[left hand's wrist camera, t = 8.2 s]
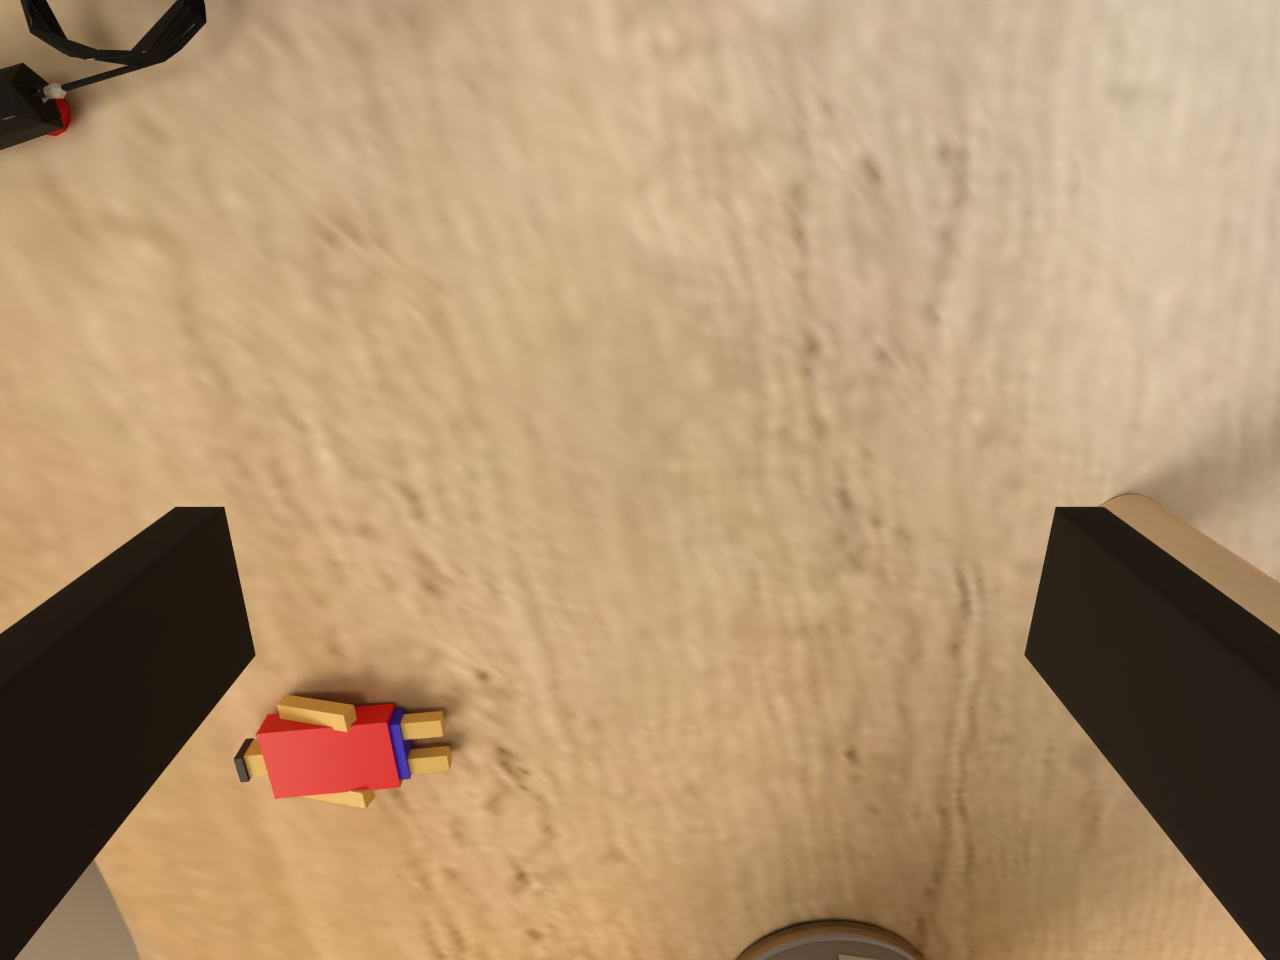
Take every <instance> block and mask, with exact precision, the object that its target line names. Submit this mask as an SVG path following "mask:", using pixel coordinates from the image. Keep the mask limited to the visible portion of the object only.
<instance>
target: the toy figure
mask: <svg viewBox="0 0 1280 960" xmlns="http://www.w3.org/2000/svg"><path fill="white" fill-rule="evenodd" d="M277 708H278V712H279V714H268V715H267V717H266V719H265V720H264V722H263V724H262V725H261V727H260V729H259V730H258V732H257V738H258V740H254V738H251V739H246V740H245V741H244V743H243V745H242V746H241V748H240V750H239V751H238V753H237V755H236V756H235V758H234V762H235V765H236V768H237V772H238V775H239V778H240V781H241V782H249V780H250V778H251V777H258V776H269V779H270V783H271V786H272V789H273V793H274V796H275V799H277V798H288V797H299V796H304V797H309V798H314V799H319V800H325V801H330V802H335V803H340V804H345V805H350V806H355V807H360V808H365V809H366V808H367V806H368V805H369V804H370V803H371V801H372V800H373V799H374V798H375V795H374V791H373V790H376V789H387V788H398V787H401V784H402V780H403V779H410V777H411V774H417V773H428V772H439V771H449V770H450V766H451V761H452V759H451V754H450V748H449V746H443V747H432V748H421V749H412V746H411V741H410V739H420V738H431V737H442V736H443V735H444V731H445V727H446V726H445V721H444V715H443V711H437V712H425V713H414V714H405V711H404V709H400V710H395V709H394V704H383V705H372V706H360V707H354V705H350V704H344V703H338V702H331V701H325V700H318V699H312V698H305V697H299V696H292V695H287V696H286V697H285V698H284V699H282V700H281V701H280V702H279V703H278V704H277Z"/></svg>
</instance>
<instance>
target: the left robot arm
mask: <svg viewBox="0 0 1280 960" xmlns="http://www.w3.org/2000/svg"><path fill="white" fill-rule="evenodd" d="M254 656H255V650H254V646H253V641H252V636H251V631H250V627H249V622H248V617H247V612H246V608H245V603H244V598H243V593H242V589H241V584H240V579H239V574H238V570H237V565H236V560H235V556H234V551H233V546H232V541H231V537H230V532H229V527H228V522H227V518H226V513H225V508H224V507H175V508H174V509H172V510H171V511H169V512H168V513H167V514H165V515H164V516H162V517H161V518H160V519H158V520H157V521H156V522H154V523H153V524H151V525H150V526H149V527H147V528H146V529H145V530H143V531H142V532H140V533H139V534H138V535H136V536H135V537H134V538H132V539H131V540H129V541H128V542H127V543H125V544H124V545H122V546H121V547H120V548H118V549H117V550H116V551H114V552H113V553H111V554H110V555H109V556H107V557H106V558H105V559H103V560H102V561H100V562H99V563H98V564H96V565H95V566H94V567H92V568H91V569H89V570H88V571H87V572H85V573H84V574H82V575H81V576H80V577H78V578H77V579H76V580H74V581H73V582H71V583H70V584H69V585H67V586H66V587H65V588H63V589H62V590H60V591H59V592H58V593H56V594H55V595H53V596H52V597H51V598H49V599H48V600H47V601H45V602H44V603H42V604H41V605H40V606H38V607H37V608H36V609H34V610H33V611H31V612H30V613H29V614H27V615H26V616H25V617H23V618H22V619H20V620H19V621H18V622H16V623H15V624H13V625H12V626H11V627H9V628H8V629H7V630H5V631H4V632H2V633H1V634H0V960H14V959H15V958H16V957H17V955H18V954H19V953H20V951H21V950H22V949H23V948H24V946H25V945H26V944H27V943H28V941H29V940H30V939H31V938H32V936H33V935H34V934H35V933H36V931H37V930H38V929H39V928H40V926H41V925H42V924H43V923H44V921H45V920H46V919H47V917H48V916H49V915H50V914H51V912H52V911H53V910H54V909H55V907H56V906H57V905H58V904H59V902H60V901H61V900H62V899H63V897H64V896H65V895H66V893H67V892H68V891H69V890H70V888H71V887H72V886H73V885H74V883H75V882H76V881H77V880H78V878H79V877H80V876H81V875H82V873H83V872H84V871H85V869H86V868H87V867H88V866H89V864H90V863H91V862H92V861H93V859H94V858H95V857H96V856H97V854H98V853H99V852H100V851H101V849H102V848H103V847H104V846H105V844H106V843H107V842H108V841H109V839H110V838H111V837H112V836H113V834H114V833H115V832H116V830H117V829H118V828H119V827H120V825H121V824H122V823H123V822H124V820H125V819H126V818H127V817H128V815H129V814H130V813H131V812H132V810H133V809H134V808H135V807H136V805H137V804H138V803H139V801H140V800H141V799H142V798H143V796H144V795H145V794H146V793H147V791H148V790H149V789H150V788H151V786H152V785H153V784H154V783H155V781H156V780H157V779H158V778H159V776H160V775H161V774H162V772H163V771H164V770H165V769H166V767H167V766H168V765H169V764H170V762H171V761H172V760H173V759H174V757H175V756H176V755H177V754H178V752H179V751H180V750H181V749H182V747H183V746H184V745H185V743H186V742H187V741H188V740H189V738H190V737H191V736H192V735H193V733H194V732H195V731H196V730H197V728H198V727H199V726H200V725H201V723H202V722H203V721H204V720H205V718H206V717H207V716H208V714H209V713H210V712H211V711H212V709H213V708H214V707H215V706H216V704H217V703H218V702H219V701H220V699H221V698H222V697H223V696H224V694H225V693H226V692H227V691H228V689H229V688H230V687H231V685H232V684H233V683H234V682H235V680H236V679H237V678H238V677H239V675H240V674H241V673H242V672H243V670H244V669H245V668H246V667H247V665H248V664H249V663H250V662H251V660H252V659H253V658H254ZM1025 656H1026V658H1027V659H1028V660H1029V662H1030V663H1031V664H1032V665H1033V667H1034V668H1035V669H1036V670H1037V672H1038V673H1039V674H1040V675H1041V677H1042V678H1043V679H1044V680H1045V682H1046V683H1047V684H1048V685H1049V687H1050V688H1051V689H1052V691H1053V692H1054V693H1055V694H1056V696H1057V697H1058V698H1059V699H1060V701H1061V702H1062V703H1063V704H1064V706H1065V707H1066V708H1067V709H1068V711H1069V712H1070V713H1071V714H1072V716H1073V717H1074V718H1075V720H1076V721H1077V722H1078V723H1079V725H1080V726H1081V727H1082V728H1083V730H1084V731H1085V732H1086V733H1087V735H1088V736H1089V737H1090V738H1091V740H1092V741H1093V742H1094V743H1095V745H1096V746H1097V747H1098V749H1099V750H1100V751H1101V752H1102V754H1103V755H1104V756H1105V757H1106V759H1107V760H1108V761H1109V762H1110V764H1111V765H1112V766H1113V767H1114V769H1115V770H1116V771H1117V772H1118V774H1119V775H1120V776H1121V778H1122V779H1123V780H1124V781H1125V783H1126V784H1127V785H1128V786H1129V788H1130V789H1131V790H1132V791H1133V793H1134V794H1135V795H1136V796H1137V798H1138V799H1139V800H1140V801H1141V803H1142V804H1143V805H1144V807H1145V808H1146V809H1147V810H1148V812H1149V813H1150V814H1151V815H1152V817H1153V818H1154V819H1155V820H1156V822H1157V823H1158V824H1159V825H1160V827H1161V828H1162V829H1163V830H1164V832H1165V833H1166V834H1167V836H1168V837H1169V838H1170V839H1171V841H1172V842H1173V843H1174V844H1175V846H1176V847H1177V848H1178V849H1179V851H1180V852H1181V853H1182V854H1183V856H1184V857H1185V858H1186V859H1187V861H1188V862H1189V863H1190V865H1191V866H1192V867H1193V868H1194V870H1195V871H1196V872H1197V873H1198V875H1199V876H1200V877H1201V878H1202V880H1203V881H1204V882H1205V883H1206V885H1207V886H1208V887H1209V888H1210V890H1211V891H1212V892H1213V894H1214V895H1215V896H1216V897H1217V899H1218V900H1219V901H1220V902H1221V904H1222V905H1223V906H1224V907H1225V909H1226V910H1227V911H1228V912H1229V914H1230V915H1231V916H1232V917H1233V919H1234V920H1235V921H1236V923H1237V924H1238V925H1239V926H1240V928H1241V929H1242V930H1243V931H1244V933H1245V934H1246V935H1247V936H1248V938H1249V939H1250V940H1251V941H1252V943H1253V944H1254V945H1255V946H1256V948H1257V949H1258V950H1259V952H1260V953H1261V954H1262V955H1263V957H1264V958H1265V959H1266V960H1280V634H1279V633H1278V632H1276V631H1275V630H1273V629H1272V628H1271V627H1269V626H1268V625H1267V624H1265V623H1264V622H1262V621H1261V620H1260V619H1258V618H1257V617H1255V616H1254V615H1253V614H1251V613H1250V612H1249V611H1247V610H1246V609H1244V608H1243V607H1242V606H1240V605H1239V604H1238V603H1236V602H1235V601H1233V600H1232V599H1231V598H1229V597H1228V596H1227V595H1225V594H1224V593H1222V592H1221V591H1220V590H1218V589H1217V588H1215V587H1214V586H1213V585H1211V584H1210V583H1209V582H1207V581H1206V580H1204V579H1203V578H1202V577H1200V576H1199V575H1198V574H1196V573H1195V572H1193V571H1192V570H1191V569H1189V568H1188V567H1186V566H1185V565H1184V564H1182V563H1181V562H1180V561H1178V560H1177V559H1175V558H1174V557H1173V556H1171V555H1170V554H1169V553H1167V552H1166V551H1164V550H1163V549H1162V548H1160V547H1159V546H1158V545H1156V544H1155V543H1153V542H1152V541H1151V540H1149V539H1148V538H1146V537H1145V536H1144V535H1142V534H1141V533H1140V532H1138V531H1137V530H1135V529H1134V528H1133V527H1131V526H1130V525H1129V524H1127V523H1126V522H1124V521H1123V520H1122V519H1120V518H1119V517H1118V516H1116V515H1115V514H1113V513H1112V512H1111V511H1109V510H1108V509H1106V508H1105V507H1056V508H1055V513H1054V518H1053V522H1052V527H1051V532H1050V537H1049V541H1048V546H1047V551H1046V556H1045V560H1044V565H1043V570H1042V574H1041V579H1040V584H1039V589H1038V593H1037V598H1036V603H1035V608H1034V612H1033V617H1032V622H1031V627H1030V631H1029V636H1028V641H1027V646H1026V650H1025ZM737 960H923V958H922V957H921V956H920V954H919V953H918V952H917V951H916V950H915V949H914V948H913V947H912V946H911V945H910V944H908V943H907V942H905V941H904V940H903V939H901V938H899V937H898V936H896V935H894V934H892V933H890V932H887V931H885V930H882V929H880V928H877V927H873V926H869V925H865V924H860V923H853V922H839V921H831V922H817V923H810V924H804V925H800V926H796V927H792V928H789V929H786V930H783V931H780V932H778V933H775V934H773V935H771V936H769V937H767V938H765V939H763V940H761V941H760V942H758V943H756V944H755V945H753V946H752V947H751V948H749V949H748V950H747V951H746V952H744V953H743V954H742V955H741V956H740V957H739V958H738V959H737Z"/></svg>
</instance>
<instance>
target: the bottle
mask: <svg viewBox="0 0 1280 960" xmlns="http://www.w3.org/2000/svg"><path fill="white" fill-rule="evenodd" d="M1100 507H1105V508H1106V509H1108V510H1109V511H1111V512H1112V513H1113V514H1115V515H1116V516H1118V517H1119V518H1120V519H1122V520H1123V521H1124V522H1126V523H1127V524H1129V525H1130V526H1131V527H1133V528H1134V529H1135V530H1137V531H1138V532H1140V533H1141V534H1142V535H1144V536H1145V537H1146V538H1148V539H1149V540H1151V541H1152V542H1153V543H1155V544H1156V545H1158V546H1159V547H1160V548H1162V549H1163V550H1164V551H1166V552H1167V553H1169V554H1170V555H1171V556H1173V557H1174V558H1175V559H1177V560H1178V561H1180V562H1181V563H1182V564H1184V565H1185V566H1186V567H1188V568H1189V569H1191V570H1192V571H1193V572H1195V573H1196V574H1198V575H1199V576H1200V577H1202V578H1203V579H1204V580H1206V581H1207V582H1209V583H1210V584H1211V585H1213V586H1214V587H1215V588H1217V589H1218V590H1220V591H1221V592H1222V593H1224V594H1225V595H1227V596H1228V597H1229V598H1231V599H1232V600H1233V601H1235V602H1236V603H1238V604H1239V605H1240V606H1242V607H1243V608H1244V609H1246V610H1247V611H1249V612H1250V613H1251V614H1253V615H1254V616H1255V617H1257V618H1258V619H1260V620H1261V621H1262V622H1264V623H1265V624H1267V625H1268V626H1269V627H1271V628H1272V629H1273V630H1275V631H1276V632H1278V633H1279V634H1280V582H1278V581H1277V580H1275V579H1274V578H1272V577H1270V576H1269V575H1267V574H1266V573H1264V572H1263V571H1261V570H1260V569H1258V568H1256V567H1255V566H1253V565H1252V564H1250V563H1249V562H1247V561H1246V560H1244V559H1242V558H1241V557H1239V556H1238V555H1236V554H1235V553H1233V552H1232V551H1230V550H1229V549H1227V548H1225V547H1224V546H1222V545H1221V544H1219V543H1218V542H1216V541H1215V540H1213V539H1211V538H1210V537H1208V536H1207V535H1205V534H1204V533H1202V532H1201V531H1199V530H1197V529H1196V528H1194V527H1193V526H1191V525H1190V524H1188V523H1187V522H1185V521H1183V520H1182V519H1180V518H1179V517H1177V516H1176V515H1174V514H1173V513H1171V512H1170V511H1168V510H1166V509H1165V508H1163V507H1162V506H1160V505H1159V504H1157V503H1156V502H1154V501H1152V500H1151V499H1149V498H1147V497H1145V496H1142V495H1135V494H1128V495H1122V496H1118V497H1115V498H1113V499H1111V500H1109V501H1107V502H1106V503H1104V504H1103V505H1102V506H1100Z"/></svg>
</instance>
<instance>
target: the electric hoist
mask: <svg viewBox="0 0 1280 960" xmlns="http://www.w3.org/2000/svg"><path fill="white" fill-rule="evenodd" d="M21 4H22V7H23V10H24V14H25V17H26V20H27V24H28V27H29V31H30V33H32V34H33V35H35V36H36V37H38V38H39V39H41V40H43V41H44V42H46V43H47V44H49V45H51V46H52V47H54V48H55V49H57V50H58V51H60V52H62V53H63V54H66V55H68V56H70V57H77V58H81V59H84V60H98V61H104V62H111V63H117V64H124V65H128V66H124V67H121V68H118V69H114V70H111V71H108V72H104V73H101V74H97V75H94V76H91V77H87V78H84V79H81V80H77V81H74V82H71V83H67V84H64V85H61V84H58V83H55V82H54V83H52V84H50V85H49V84H48V83H47V82H46V81H45V80H44V79H43V78H41V77H40V76H39V75H38V74H36V73H35V72H34V71H33V70H31V69H30V68H29V67H27V66H26V65H25V64H24V63H20V64H17V65H13V66H10V67H7V68H3V69H0V150H2V149H5V148H8V147H11V146H14V145H17V144H20V143H23V142H26V141H28V140H31V139H34V138H37V137H40V136H43V135H52V136H57V135H59V134H61V133H63V132H64V131H66V129H67V128H68V126H69V124H70V122H71V119H70V109H69V105H68V104H67V102H66V100H65V99H64V97H65V95H66V93H67V92H66V91H68V90H72V89H75V88H78V87H82V86H85V85H88V84H92V83H95V82H99V81H102V80H105V79H109V78H112V77H115V76H119V75H122V74H125V73H129V72H132V71H135V70H139V69H142V68H145V67H149V66H152V65H155V64H159V63H162V62H165V61H166V60H168V59H169V58H170V57H172V56H173V55H174V54H176V53H177V52H179V51H180V50H181V49H182V48H183V47H184V46H185V45H186V44H187V43H188V42H189V41H190V40H191V38H192V37H193V36H194V35H195V34H196V33H197V32H198V31H199V30H200V29H201V28H202V27H203V25H204V24H205V23H206V11H205V3H204V0H177V1H176V2H175V3H174V4H173V5H172V7H171V8H170V9H169V10H168V11H167V12H166V13H165V14H164V15H163V16H162V17H161V18H160V20H159V21H158V22H157V23H156V24H155V25H154V26H153V27H152V28H151V29H150V30H149V32H148V33H147V34H146V35H145V36H144V37H143V38H142V39H141V40H140V41H139V42H138V43H137V45H136V46H135V47H134V48H133V49H132V50H131V51H128V50H97V49H94V48H91V47H88V46H85V45H82V44H80V43H77V42H74V41H71V40H68V39H67V38H66V36H65V34H64V32H63V31H62V29H61V27H60V25H59V23H58V21H57V19H56V18H55V16H54V14H53V12H52V10H51V8H50V6H49V5H48V3H47V1H46V0H21ZM194 24H195V25H194ZM193 25H194V26H193ZM192 26H193V27H192ZM191 27H192V28H191ZM190 28H191V29H190ZM189 29H190V30H189ZM188 30H189V31H188ZM187 31H188V32H187ZM186 32H187V33H186ZM185 33H186V34H185ZM184 34H185V35H184ZM183 35H184V36H183ZM182 36H183V37H182ZM181 37H182V38H181Z"/></svg>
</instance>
